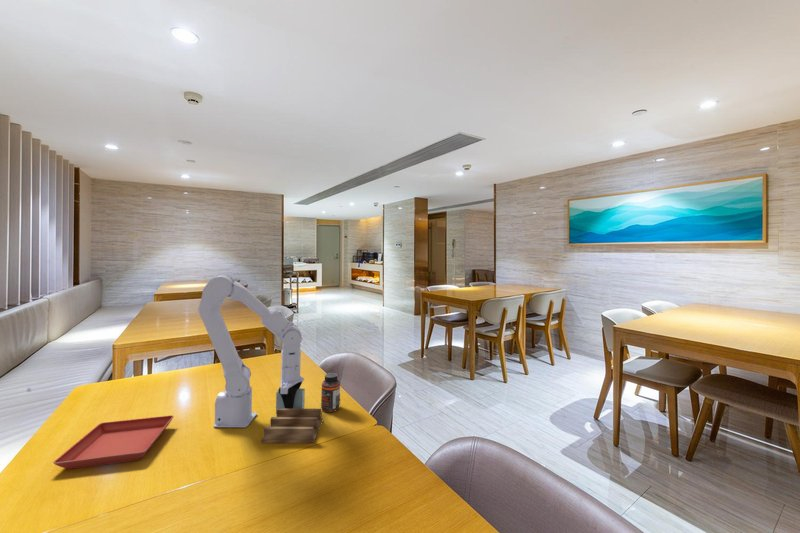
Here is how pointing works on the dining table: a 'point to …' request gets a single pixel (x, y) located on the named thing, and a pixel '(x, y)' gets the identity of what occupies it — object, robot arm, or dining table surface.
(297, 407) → the grey-green rectangular block
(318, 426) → the rack
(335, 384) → the supplement bottle
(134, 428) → the plant saucer
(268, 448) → the dining table surface
